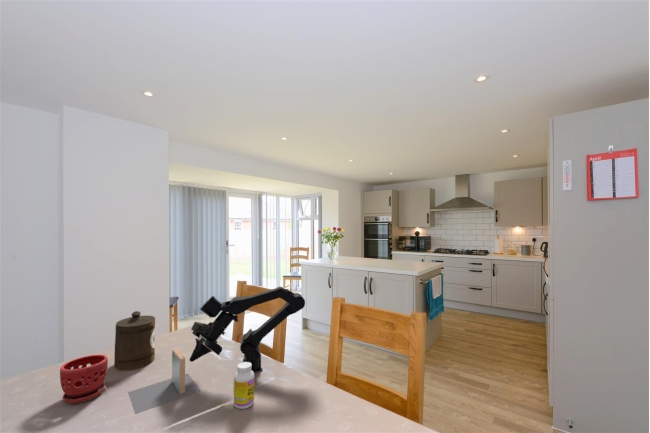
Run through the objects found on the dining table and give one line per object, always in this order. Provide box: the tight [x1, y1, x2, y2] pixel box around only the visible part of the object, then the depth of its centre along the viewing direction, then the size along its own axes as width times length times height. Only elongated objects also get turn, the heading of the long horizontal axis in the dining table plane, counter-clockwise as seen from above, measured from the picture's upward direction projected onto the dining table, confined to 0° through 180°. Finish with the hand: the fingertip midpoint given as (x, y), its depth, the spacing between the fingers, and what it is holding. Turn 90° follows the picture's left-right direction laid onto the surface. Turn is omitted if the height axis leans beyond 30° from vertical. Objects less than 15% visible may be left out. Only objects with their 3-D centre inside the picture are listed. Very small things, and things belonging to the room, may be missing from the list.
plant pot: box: [59, 354, 109, 404], centre depth 104 cm, size 13×13×12 cm
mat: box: [128, 373, 202, 415], centre depth 106 cm, size 20×16×1 cm
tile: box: [171, 347, 186, 394], centre depth 109 cm, size 2×11×12 cm, turn 41°
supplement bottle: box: [233, 361, 255, 410], centre depth 100 cm, size 7×7×13 cm
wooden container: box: [113, 310, 156, 371], centre depth 129 cm, size 15×15×22 cm
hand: (190, 361), depth 112 cm, fingers closed
